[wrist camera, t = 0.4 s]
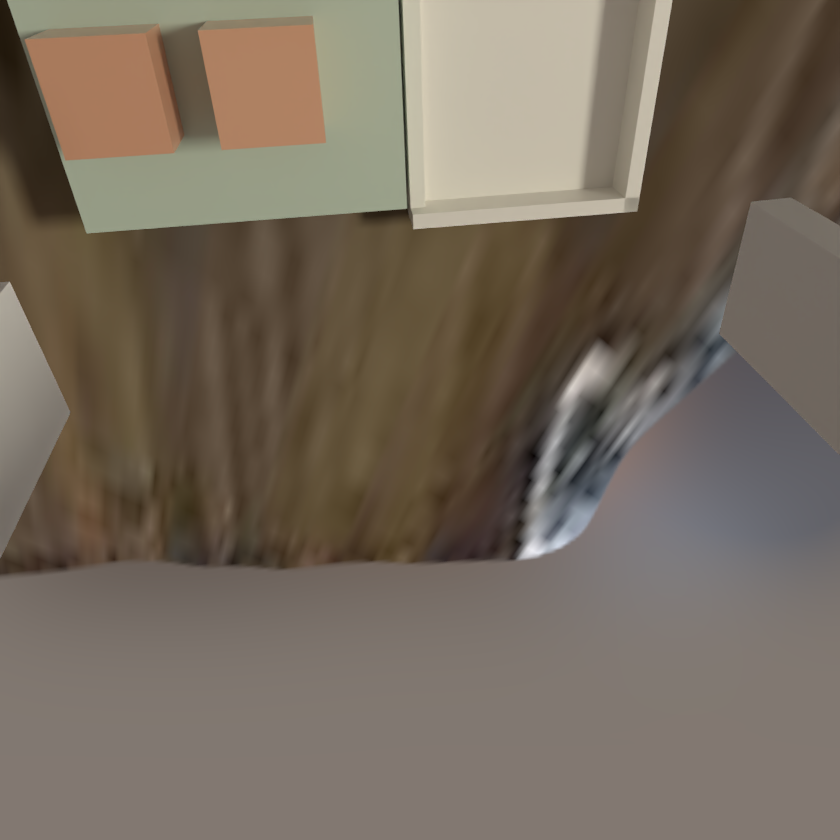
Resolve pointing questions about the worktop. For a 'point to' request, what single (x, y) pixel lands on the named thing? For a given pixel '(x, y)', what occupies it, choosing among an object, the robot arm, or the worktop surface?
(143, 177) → the board
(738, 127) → the worktop surface
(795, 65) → the worktop surface
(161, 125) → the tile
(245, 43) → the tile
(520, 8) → the tray
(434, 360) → the worktop surface
